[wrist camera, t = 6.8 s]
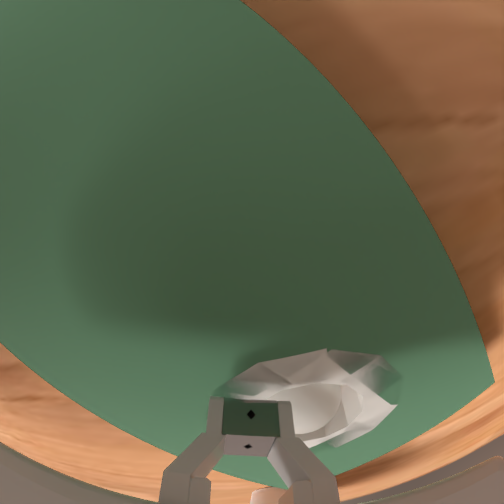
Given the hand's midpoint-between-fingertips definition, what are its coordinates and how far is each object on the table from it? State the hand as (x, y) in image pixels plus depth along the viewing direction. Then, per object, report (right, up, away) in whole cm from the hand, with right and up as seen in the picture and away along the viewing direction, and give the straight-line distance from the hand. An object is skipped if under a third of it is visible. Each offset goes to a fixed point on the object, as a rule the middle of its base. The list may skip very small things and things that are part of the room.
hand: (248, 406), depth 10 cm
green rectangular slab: (-1, +3, +3) cm, 5 cm away
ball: (+3, -1, +3) cm, 4 cm away
